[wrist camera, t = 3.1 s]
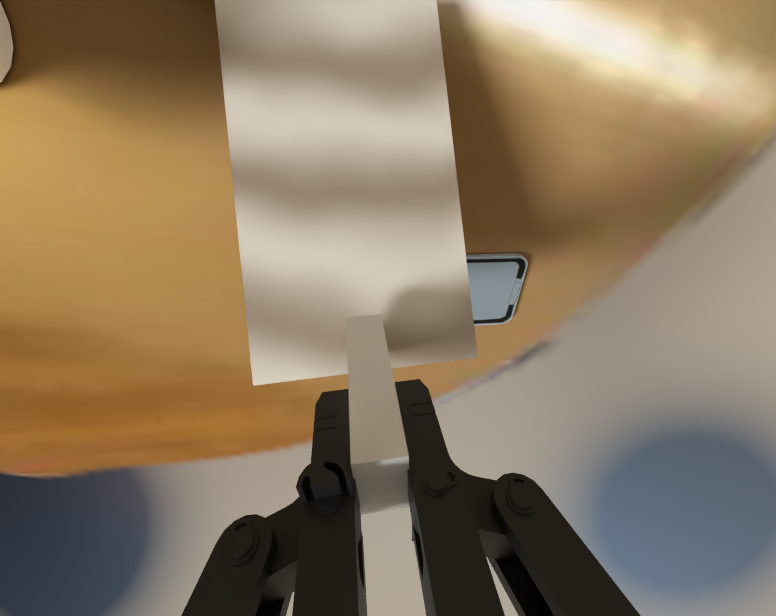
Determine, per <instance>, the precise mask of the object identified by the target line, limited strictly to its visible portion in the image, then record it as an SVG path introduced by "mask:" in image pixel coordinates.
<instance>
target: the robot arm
mask: <svg viewBox="0 0 776 616" xmlns="http://www.w3.org/2000/svg"><path fill="white" fill-rule="evenodd" d="M346 321H347V355H348V389H345V390H337V391H329V392H322V394H321V396H320V398H319V400H318V401H317V403H316V406H315V421H314V432H313V443H312V456H311V464H309V465H308V466H307V467H306V468H305V469H304V470H303V472H302V473H301V475H300V476H299V479H298V482H297V485H296V488H297V491H298V493H299V496H300V497H299V498H297V499H296V500H295V501H294V502H293V503H292V504H290V505H289V506H287V507H285V508H283V509H281V510H280V511H278V512H276V513H274V514H272V515H270V516H268V517H266V518H264V517H262V516H259V515H256V514H255V515H246V516H244V517H242V518H240V519H238V520H236V521H234V522H233V523H232V524H231V525H230V526H229V527H227V529H225V531H224V532H223V533H222V535H221V537H220V538H219V540H218V541H217V543H216V545H215V547H214V549H213V551H212V553H211V555H210V557H209V560H208V561H207V564H206V566H205V568H204V570H203V572H202V574H201V576H200V578H199V580H198V583H197V584H196V586H195V589H194V591H193V593H192V595H191V597H190V599H189V601H188V603H187V605H186V607H185V609H184V612H183V614H182V616H286V613H287V609H288V606H289V602H290V598H291V595H292V593H293V592H294V591H295V593H294V603H293V614H292V616H367V604H366V586H365V569H364V550H363V536H362V532H361V515H362V514H368V513H375V512H381V511H386V510H393V509H398V508H405V507H409V506H410V512H411V517H412V541H414V544H415V549H416V556H417V562H418V568H419V574H420V579H421V586H422V591H423V598H424V604H425V609H426V616H505V615H504V612H503V609H502V606H501V603H500V599H499V596H498V593H497V590H496V587H495V584H494V581H493V578H492V574H491V571H490V568H489V565H488V562H487V559H486V557H488V559H489V561H490V563H491V565H492V567H493V568H494V570H495V572H496V574H497V576H498V578H499V580H500V581H501V584H502V585H503V587H504V589H505V591H506V593H507V594H508V596H509V598H510V600H511V602H512V604H513V606H514V608H515V610H516V611H517V613H518V615H519V616H640V615H639V613H638V612H637V611H636V609H635V608H634V607H633V606H632V604H631V603H630V602H629V600H628V599H627V598H626V597H625V595H624V594H623V593H622V592H621V590H620V589H619V588H618V586H617V585H616V584H615V582H614V581H613V580H612V579H611V577H610V576H609V575H608V573H607V572H606V571H605V570H604V568H603V567H602V566H601V564H600V563H599V562H598V561H597V559H596V558H595V557H594V556H593V554H592V553H591V552H590V550H589V549H588V548H587V546H586V545H585V544H584V543H583V541H582V540H581V539H580V538H579V536H578V535H577V534H576V532H575V531H574V530H573V529H572V527H571V526H570V525H569V523H568V522H567V521H566V519H565V518H564V517H563V516H562V514H561V513H560V512H559V511H558V509H557V508H556V507H555V505H554V504H553V503H552V502H551V500H550V499H549V497H548V496H547V495H546V494H545V492H544V491H543V490H542V489H541V488H540V487H539V486H538V485H537V484H536V483H535V482H534V481H533V480H532V479H530V478H528V477H526V476H524V475H522V474H516V473H509V474H504V475H503V476H501V477H500V478H499V479H498V480H497V481H496V480H491V479H485V478H480V477H476V476H472V475H469V474H467V473H465V472H463V471H462V470H460V469H459V468H458V467H457V466H456V465H455V464H454V463H453V461H452V460H451V458H450V456H449V454H448V451H447V448H446V445H445V442H444V438H443V435H442V432H441V429H440V425H439V422H438V419H437V416H436V414H435V409H434V406H433V404H432V400H431V396H430V393H429V390H428V388H427V387H426V386H425V385H424V384H423V383H422V382H421V380H420V379H417V380H409V381H401V382H394V378H393V373H392V368H391V362H390V357H389V352H388V347H387V342H386V337H385V332H384V327H383V322H382V316H381V314H376V315H367V316H357V317H348V318H346Z"/></svg>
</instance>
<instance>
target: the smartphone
mask: <svg viewBox="0 0 776 616" xmlns="http://www.w3.org/2000/svg"><path fill="white" fill-rule="evenodd" d="M466 261H467V269H468V278H469V287H470V296H471V304H472V313H473V322H474V325H496V324H504V323H507V322H508V321H509V320H510V319H511V318H512V317H513V314H514V310H515V307H516V304H517V300H518V297H519V293H520V290H521V287H522V283H523V280H524V276H525V273H526V270H527V266H528V262H527V260H526V258H525V257H523V256H522V255H521V254H519V253H500V254H468V255H466Z"/></svg>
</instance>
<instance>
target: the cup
mask: <svg viewBox="0 0 776 616" xmlns="http://www.w3.org/2000/svg"><path fill="white" fill-rule="evenodd" d="M12 54H13V42H12V36H11V30H10V24H9V21H8V19H7V17H6V14H5V12H4V9H3V7H2V4H1V2H0V82H2V81H3V79H4V77H5V76H6V74H7V72H8V71H9V69H10V67H11V62H12Z"/></svg>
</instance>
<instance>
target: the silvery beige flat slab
mask: <svg viewBox="0 0 776 616" xmlns="http://www.w3.org/2000/svg"><path fill="white" fill-rule="evenodd" d="M215 9H216V19H217V29H218V39H219V49H220V59H221V69H222V79H223V89H224V99H225V109H226V119H227V129H228V139H229V149H230V159H231V169H232V179H233V189H234V199H235V209H236V219H237V229H238V239H239V249H240V258H241V268H242V278H243V288H244V298H245V308H246V318H247V328H248V338H249V348H250V358H251V368H252V378H253V385H261V384H269V383H277V382H285V381H293V380H301V379H309V378H318V377H326V376H334V375H342V374H348V355H347V321H346V318H348V317H357V316H367V315H376V314H381V316H382V322H383V327H384V332H385V337H386V342H387V347H388V352H389V357H390V362H391V368H398V367H406V366H414V365H422V364H430V363H438V362H446V361H454V360H462V359H470V358H478V357H477V348H476V339H475V331H474V322H473V313H472V304H471V296H470V287H469V278H468V269H467V261H466V252H465V243H464V235H463V226H462V217H461V208H460V200H459V191H458V182H457V173H456V165H455V156H454V147H453V139H452V130H451V121H450V112H449V104H448V95H447V86H446V77H445V69H444V60H443V51H442V43H441V34H440V25H439V16H438V8H437V0H215Z"/></svg>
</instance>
